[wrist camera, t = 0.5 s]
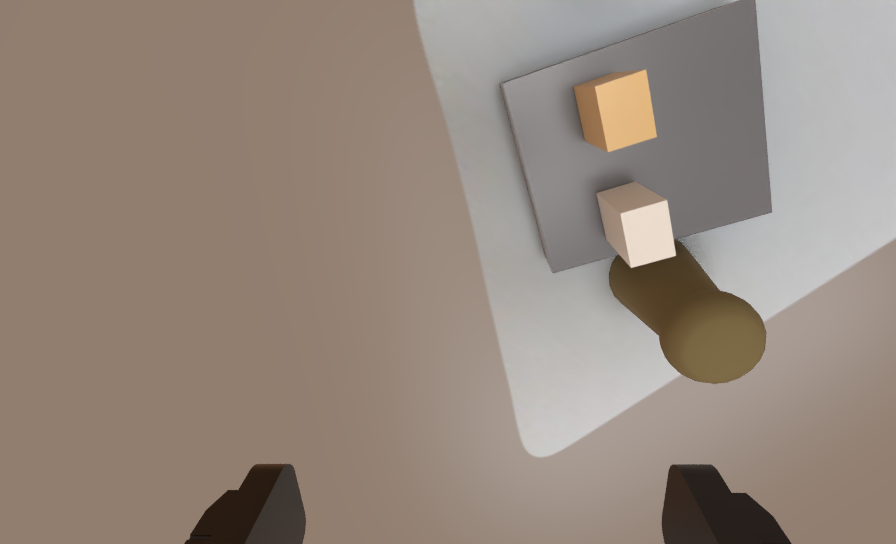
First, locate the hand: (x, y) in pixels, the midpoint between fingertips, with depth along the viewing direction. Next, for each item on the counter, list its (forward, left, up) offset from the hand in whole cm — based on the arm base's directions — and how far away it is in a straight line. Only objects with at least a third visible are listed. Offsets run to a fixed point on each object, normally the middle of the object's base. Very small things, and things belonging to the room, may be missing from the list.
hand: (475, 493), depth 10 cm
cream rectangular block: (-9, +2, -22) cm, 23 cm away
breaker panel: (-11, -1, -25) cm, 27 cm away
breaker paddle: (-9, -4, -22) cm, 24 cm away
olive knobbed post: (-11, +9, -25) cm, 29 cm away
